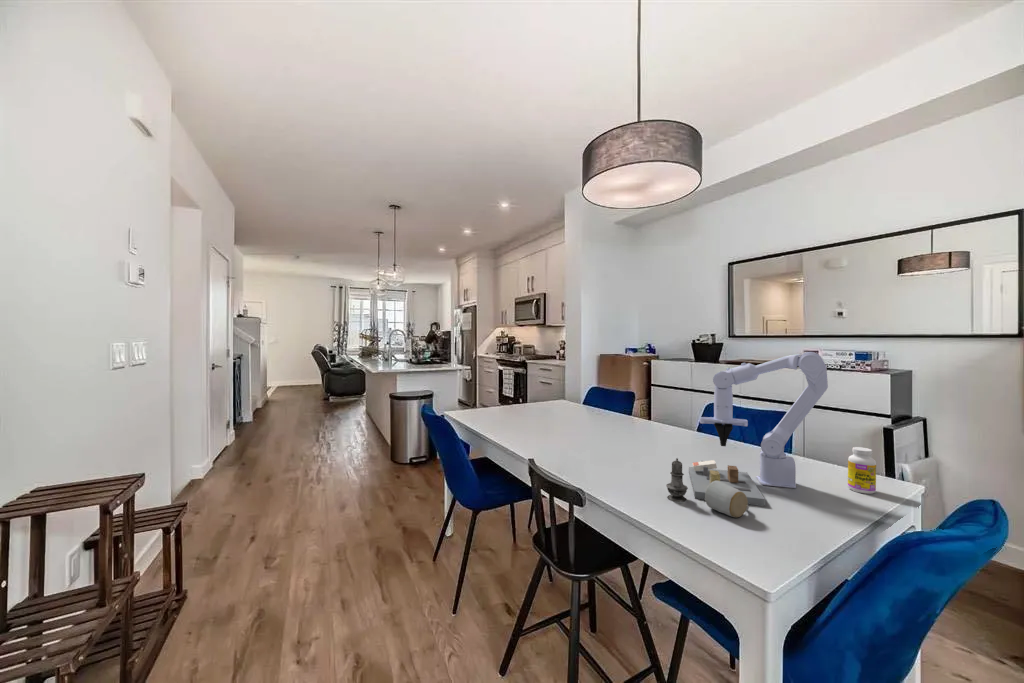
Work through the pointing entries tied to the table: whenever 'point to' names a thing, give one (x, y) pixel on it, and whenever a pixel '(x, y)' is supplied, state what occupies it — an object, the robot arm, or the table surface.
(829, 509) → the table surface
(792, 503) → the table surface
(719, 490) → the ceramic mug
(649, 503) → the table surface
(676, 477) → the grey stone rounded piece
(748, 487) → the console
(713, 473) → the tan wooden block
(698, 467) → the rocker
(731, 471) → the walnut knob
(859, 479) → the supplement bottle
